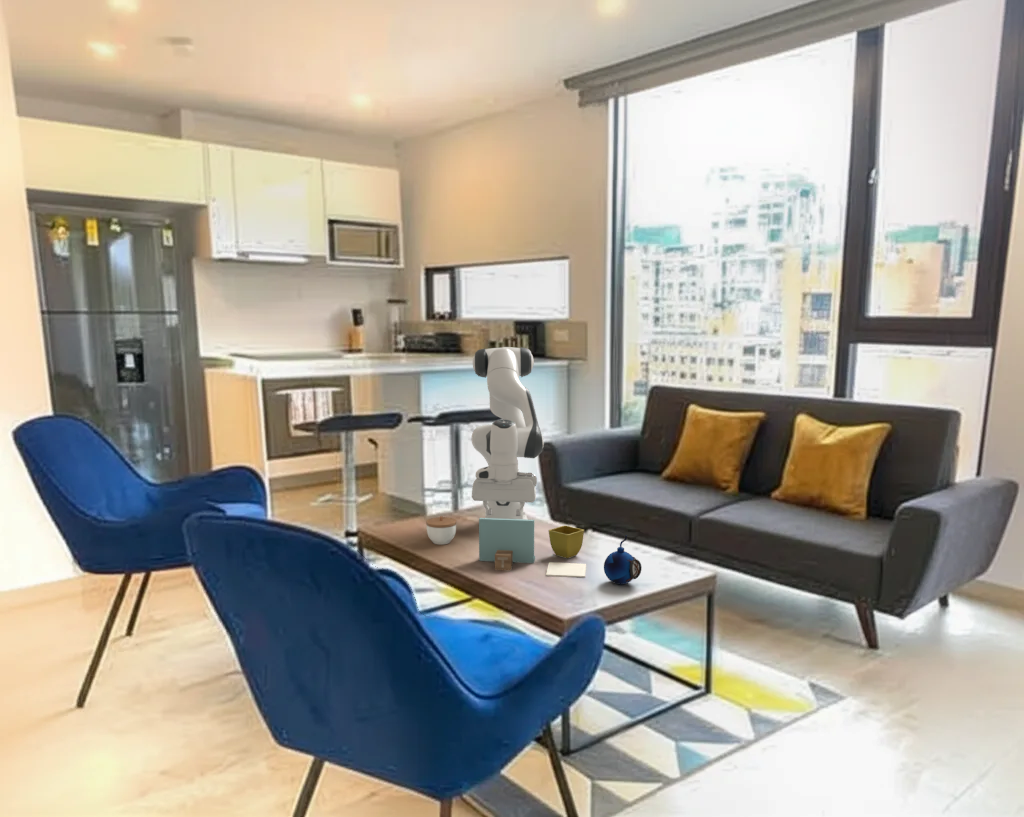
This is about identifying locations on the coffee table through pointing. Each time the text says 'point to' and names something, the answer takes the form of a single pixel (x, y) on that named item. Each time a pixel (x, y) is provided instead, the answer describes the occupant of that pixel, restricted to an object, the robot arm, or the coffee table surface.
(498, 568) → the brown block
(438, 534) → the lidded jar
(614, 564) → the bomb
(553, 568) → the pad
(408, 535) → the coffee table surface
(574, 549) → the flower pot
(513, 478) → the robot arm
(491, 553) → the screen
